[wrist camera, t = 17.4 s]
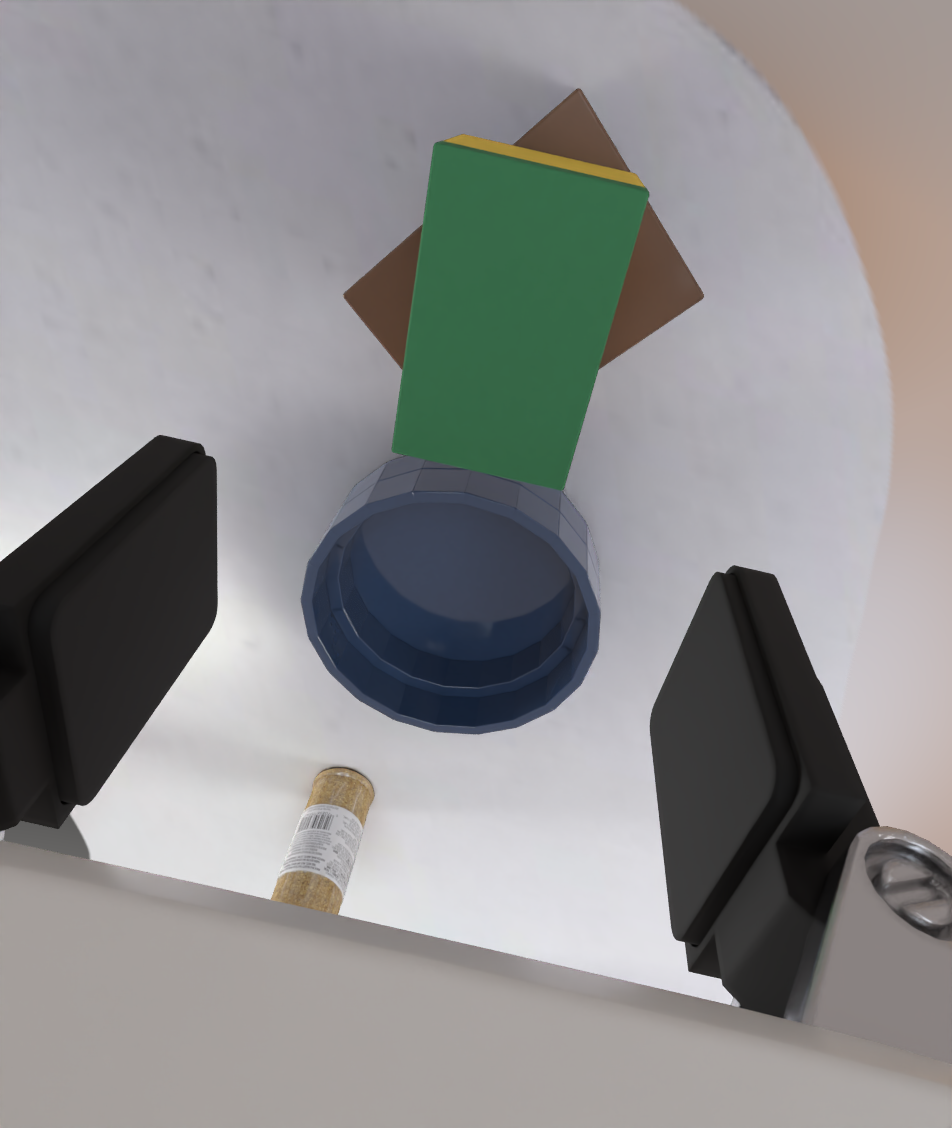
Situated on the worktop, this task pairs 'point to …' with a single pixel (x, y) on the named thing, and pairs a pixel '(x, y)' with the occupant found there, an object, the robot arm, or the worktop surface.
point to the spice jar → (325, 842)
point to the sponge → (512, 306)
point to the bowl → (454, 597)
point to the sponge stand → (651, 279)
